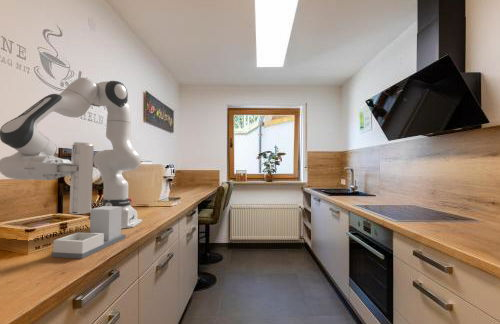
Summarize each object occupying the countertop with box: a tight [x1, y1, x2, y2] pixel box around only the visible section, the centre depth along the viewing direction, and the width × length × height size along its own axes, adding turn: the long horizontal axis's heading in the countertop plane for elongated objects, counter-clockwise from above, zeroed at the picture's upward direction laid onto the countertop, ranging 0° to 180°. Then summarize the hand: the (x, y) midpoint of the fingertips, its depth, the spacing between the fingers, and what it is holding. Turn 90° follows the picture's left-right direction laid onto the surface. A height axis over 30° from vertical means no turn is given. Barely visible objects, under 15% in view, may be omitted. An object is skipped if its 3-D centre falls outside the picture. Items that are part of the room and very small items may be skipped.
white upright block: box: [68, 141, 95, 215], centre depth 91 cm, size 6×6×25 cm
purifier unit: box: [51, 205, 127, 260], centre depth 97 cm, size 24×11×14 cm, turn 174°
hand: (84, 168), depth 90 cm, fingers closed on white upright block, 5 cm apart
